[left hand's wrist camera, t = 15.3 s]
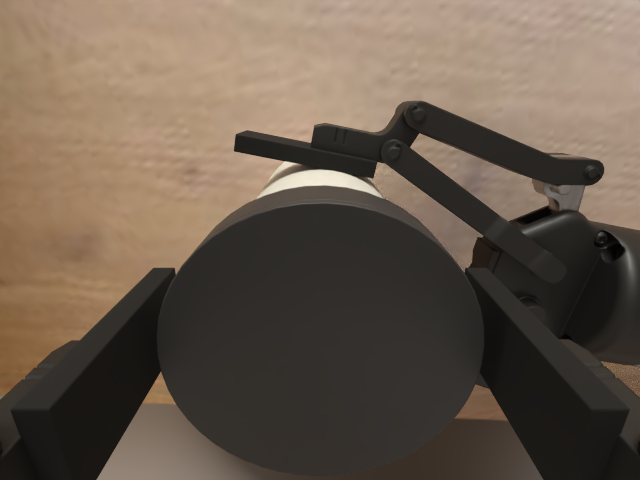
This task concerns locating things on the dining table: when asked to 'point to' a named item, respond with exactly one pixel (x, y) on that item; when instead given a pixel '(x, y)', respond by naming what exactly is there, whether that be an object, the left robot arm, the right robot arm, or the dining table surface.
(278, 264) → the lid
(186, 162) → the dining table surface
